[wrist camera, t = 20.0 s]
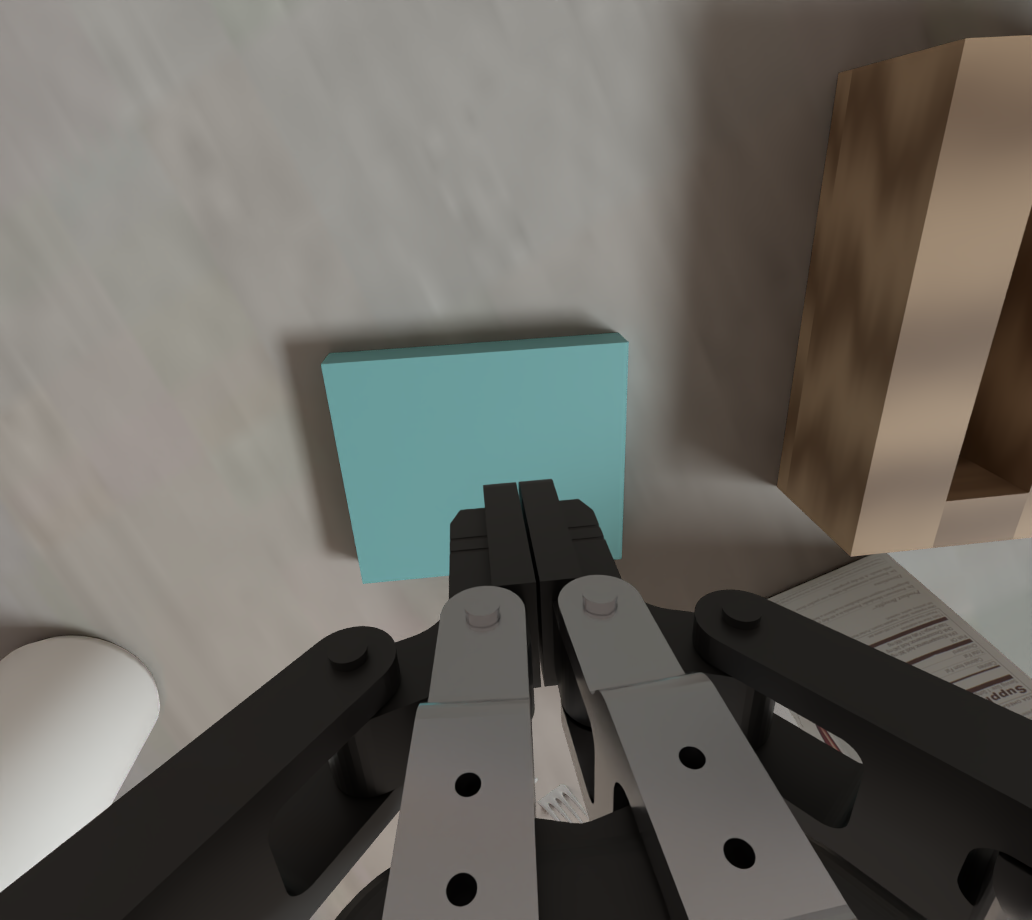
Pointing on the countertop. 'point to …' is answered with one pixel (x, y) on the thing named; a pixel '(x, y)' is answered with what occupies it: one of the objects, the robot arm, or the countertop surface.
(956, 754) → the robot arm
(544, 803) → the fork
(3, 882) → the alcohol
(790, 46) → the countertop surface
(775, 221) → the countertop surface
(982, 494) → the slot box
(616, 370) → the cover plate
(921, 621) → the supplement box
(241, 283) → the countertop surface
